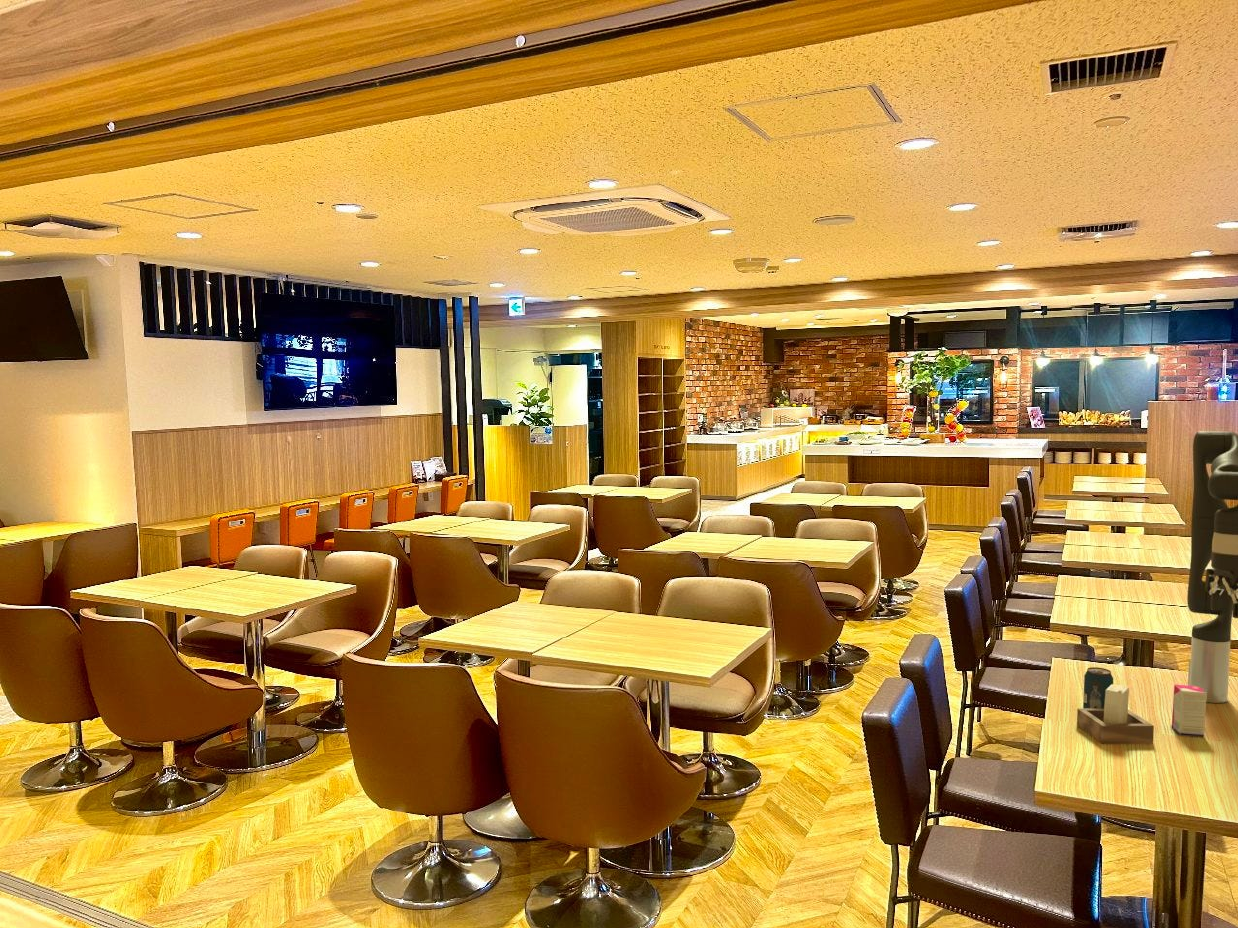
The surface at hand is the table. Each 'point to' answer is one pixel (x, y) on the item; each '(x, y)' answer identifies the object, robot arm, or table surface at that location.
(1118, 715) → the skincare box
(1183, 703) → the supplement box
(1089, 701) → the soda can
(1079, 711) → the brown wooden square frame
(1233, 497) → the robot arm
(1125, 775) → the table surface
